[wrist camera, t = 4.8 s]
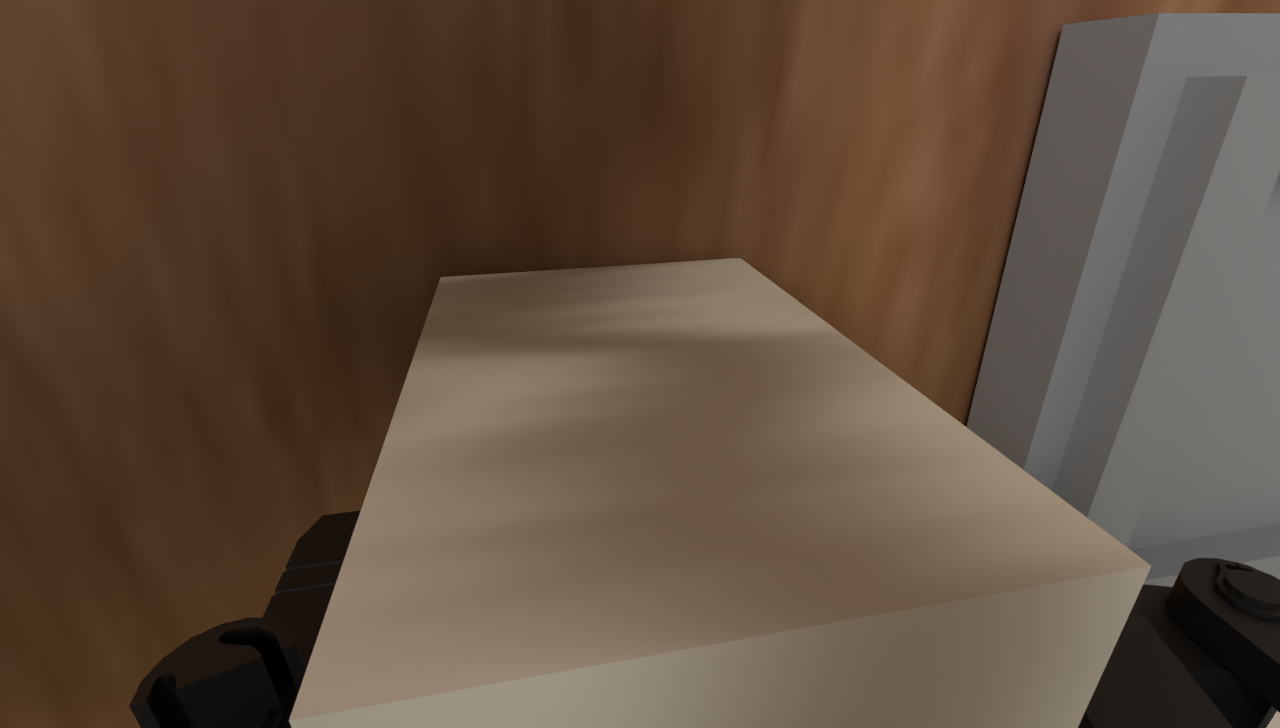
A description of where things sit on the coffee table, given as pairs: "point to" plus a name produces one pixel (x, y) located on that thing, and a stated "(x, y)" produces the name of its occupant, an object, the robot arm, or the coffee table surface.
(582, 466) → the birch block
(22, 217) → the coffee table surface
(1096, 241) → the slate plinth
